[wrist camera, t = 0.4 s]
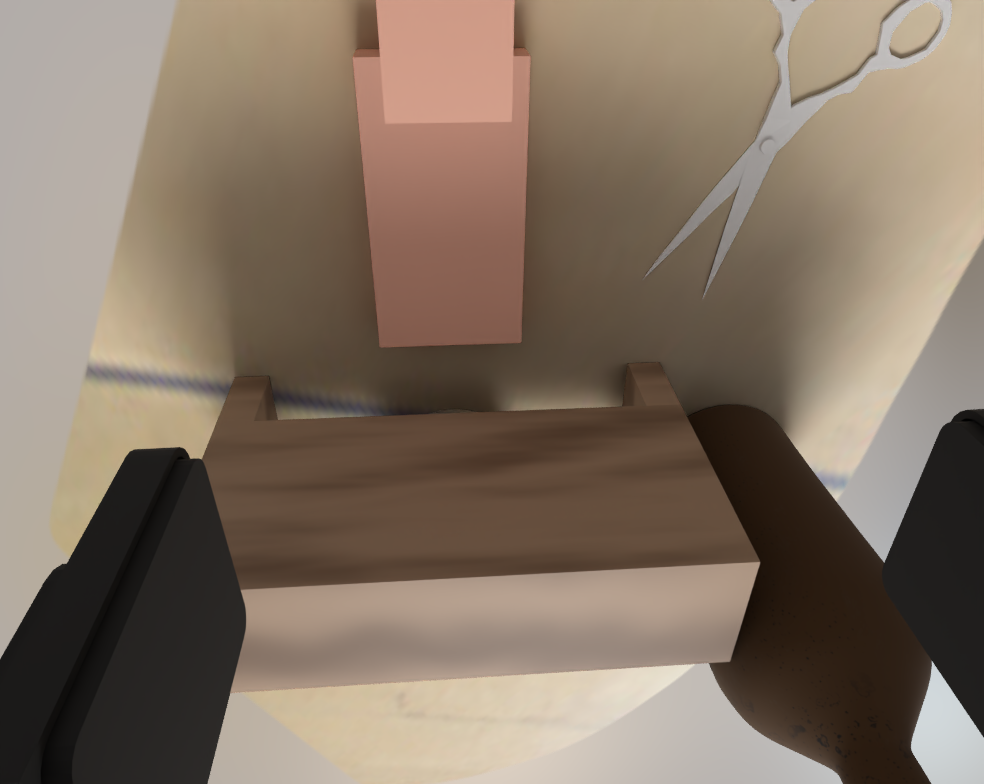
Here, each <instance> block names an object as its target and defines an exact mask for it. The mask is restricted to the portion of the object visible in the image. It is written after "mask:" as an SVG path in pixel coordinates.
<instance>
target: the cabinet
mask: <svg viewBox="0 0 984 784" xmlns="http://www.w3.org/2000/svg"><path fill="white" fill-rule="evenodd" d="M202 461H203V462H204V464H205V467H206V470H207V474H208V477H209V481H210V484H211V488H212V491H213V495H214V498H215V502H216V505H217V509H218V512H219V516H220V519H221V523H222V526H223V530H224V533H225V537H226V540H227V544H228V547H229V551H230V554H231V558H232V561H233V565H234V568H235V572H236V575H237V579H238V582H239V586H240V589H241V593H242V596H243V600H244V603H245V608H246V631H245V636H244V640H243V644H242V648H241V652H240V656H239V660H238V664H237V668H236V672H235V676H234V680H233V684H232V688H231V692H230V693H237V692H254V691H270V690H286V689H302V688H318V687H334V686H350V685H366V684H382V683H398V682H414V681H430V680H446V679H461V678H477V677H493V676H509V675H525V674H541V673H557V672H573V671H589V670H605V669H621V668H637V667H653V666H669V665H685V664H700V663H717V662H730V660H731V657H732V654H733V650H734V647H735V644H736V640H737V637H738V634H739V631H740V627H741V624H742V621H743V617H744V614H745V611H746V608H747V604H748V601H749V598H750V594H751V591H752V588H753V585H754V581H755V578H756V575H757V572H758V568H759V565H760V560H759V558H758V556H757V554H756V552H755V550H754V548H753V546H752V544H751V542H750V540H749V538H748V536H747V534H746V533H745V531H744V529H743V527H742V525H741V523H740V521H739V519H738V517H737V515H736V513H735V511H734V509H733V507H732V505H731V503H730V501H729V499H728V497H727V495H726V493H725V491H724V489H723V487H722V485H721V483H720V481H719V479H718V477H717V475H716V473H715V471H714V469H713V467H712V465H711V463H710V461H709V459H708V457H707V455H706V453H705V452H704V450H703V448H702V446H701V444H700V442H699V440H698V438H697V436H696V434H695V432H694V430H693V428H692V426H691V424H690V422H689V420H688V418H687V416H686V414H685V412H684V410H683V408H682V406H681V404H680V402H679V400H678V398H677V396H676V394H675V392H674V390H673V388H672V386H671V384H670V382H669V380H668V378H667V376H666V374H665V372H664V371H663V369H662V367H661V365H660V363H659V362H654V363H628V366H627V374H626V381H625V389H624V397H623V405H622V407H602V408H576V409H550V410H525V411H499V412H473V413H447V414H422V415H396V416H370V417H344V418H319V419H293V420H277V414H276V409H275V404H274V399H273V394H272V389H271V384H270V379H269V376H254V377H235V379H234V381H233V384H232V386H231V389H230V391H229V393H228V396H227V398H226V401H225V403H224V406H223V408H222V411H221V413H220V416H219V418H218V421H217V423H216V426H215V428H214V431H213V433H212V436H211V438H210V441H209V443H208V445H207V448H206V450H205V453H204V455H203V458H202Z"/></svg>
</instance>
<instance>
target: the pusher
mask: <svg viewBox="0 0 984 784" xmlns="http://www.w3.org/2000/svg"><path fill="white" fill-rule="evenodd" d="M376 9H377V23H378V36H379V49H356V51H355V53H354V55H353V57H352V58H353V68H354V79H355V90H356V100H357V111H358V121H359V132H360V143H361V153H362V164H363V175H364V185H365V196H366V207H367V217H368V228H369V239H370V249H371V260H372V271H373V281H374V292H375V303H376V313H377V324H378V334H379V345H380V347H410V346H440V345H471V344H502V343H521V336H522V305H523V275H524V244H525V213H526V183H527V152H528V122H529V91H530V60H531V56H530V54H529V53H528V51H527V50H526V49H525V48H514V0H376Z"/></svg>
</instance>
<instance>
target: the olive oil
mask: <svg viewBox="0 0 984 784" xmlns="http://www.w3.org/2000/svg"><path fill="white" fill-rule="evenodd" d="M687 418H688V420H689V422H690V424H691V426H692V428H693V430H694V432H695V434H696V436H697V438H698V440H699V442H700V444H701V446H702V448H703V450H704V452H705V453H706V455H707V457H708V459H709V461H710V463H711V465H712V467H713V469H714V471H715V473H716V475H717V477H718V479H719V481H720V483H721V485H722V487H723V489H724V491H725V493H726V495H727V497H728V499H729V501H730V503H731V505H732V507H733V509H734V511H735V513H736V515H737V517H738V519H739V521H740V523H741V525H742V527H743V529H744V531H745V533H746V534H747V536H748V538H749V540H750V542H751V544H752V546H753V548H754V550H755V552H756V554H757V556H758V558H759V560H760V565H759V568H758V572H757V575H756V578H755V581H754V585H753V588H752V591H751V594H750V598H749V601H748V604H747V608H746V611H745V614H744V617H743V621H742V624H741V627H740V631H739V634H738V637H737V640H736V644H735V647H734V650H733V654H732V657H731V660H730V662H717V663H709V664H710V667H711V669H712V671H713V674H714V676H715V679H716V680H717V683H718V684H719V686H720V688H721V690H722V691H723V693H724V694H725V696H726V697H727V699H728V700H729V701H730V703H731V704H732V705H733V707H734V708H735V709H736V711H737V712H738V713H739V714H740V715H741V716H742V718H743V719H744V720H745V721H746V722H747V723H748V724H749V725H751V726H752V727H753V728H754V729H755V730H757V731H758V732H759V733H761V734H762V735H764V736H766V737H767V738H769V739H771V740H773V741H775V742H776V743H778V744H780V745H783V746H785V747H787V748H789V749H791V750H793V751H795V752H797V753H799V754H802V755H804V756H806V757H808V758H810V759H812V760H814V761H816V762H819V763H821V764H823V765H825V766H826V767H829V768H830V769H832V770H833V771H835V772H836V773H837V774H838V775H839V776H840V778H841V781H842V782H843V784H931V782H930V781H929V779H928V777H927V776H926V774H925V773H924V771H923V769H922V767H921V766H920V764H919V763H918V761H917V760H916V758H915V756H914V755H913V753H912V751H911V741H912V736H913V733H914V730H915V727H916V724H917V720H918V717H919V714H920V711H921V708H922V705H923V701H924V699H925V695H926V692H927V689H928V685H929V681H930V676H931V667H932V660H931V659H930V657H929V656H928V654H927V653H926V651H925V650H924V648H923V647H922V645H921V644H920V642H919V641H918V639H917V638H916V636H915V635H914V633H913V632H912V630H911V629H910V627H909V626H908V624H907V623H906V621H905V620H904V618H903V617H902V616H901V614H900V613H899V611H898V610H897V608H896V607H895V605H894V604H893V602H892V601H891V599H890V598H889V596H888V594H887V593H886V591H885V588H884V585H883V580H882V569H883V565H884V562H883V561H882V559H881V558H880V557H879V556H878V554H877V553H876V552H875V551H874V549H873V548H872V547H871V546H870V544H869V543H868V542H867V541H866V539H865V538H864V537H863V535H862V534H861V533H860V532H859V530H858V529H857V528H856V527H855V525H854V524H853V523H852V521H851V520H850V519H849V518H848V517H847V515H846V514H845V512H844V511H843V510H842V509H841V507H840V506H839V505H838V503H837V502H836V501H835V499H834V498H833V497H832V495H831V494H830V493H829V492H828V490H827V489H826V488H825V486H824V485H823V484H822V483H821V481H820V480H819V479H818V477H817V476H816V475H815V473H814V472H813V471H812V469H811V468H810V467H809V465H808V464H807V463H806V461H805V460H804V459H803V457H802V456H801V454H800V453H799V452H798V450H797V449H796V448H795V446H794V445H793V444H792V442H791V441H790V439H789V438H788V437H787V435H786V434H785V433H784V431H783V430H782V429H781V427H780V426H779V425H778V424H777V422H776V421H775V420H774V419H773V418H771V417H770V416H769V415H768V414H766V413H764V412H763V411H761V410H758V409H756V408H752V407H749V406H743V405H722V406H716V407H712V408H708V409H705V410H702V411H699V412H697V413H694V414H692V415H690V416H688V417H687Z"/></svg>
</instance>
